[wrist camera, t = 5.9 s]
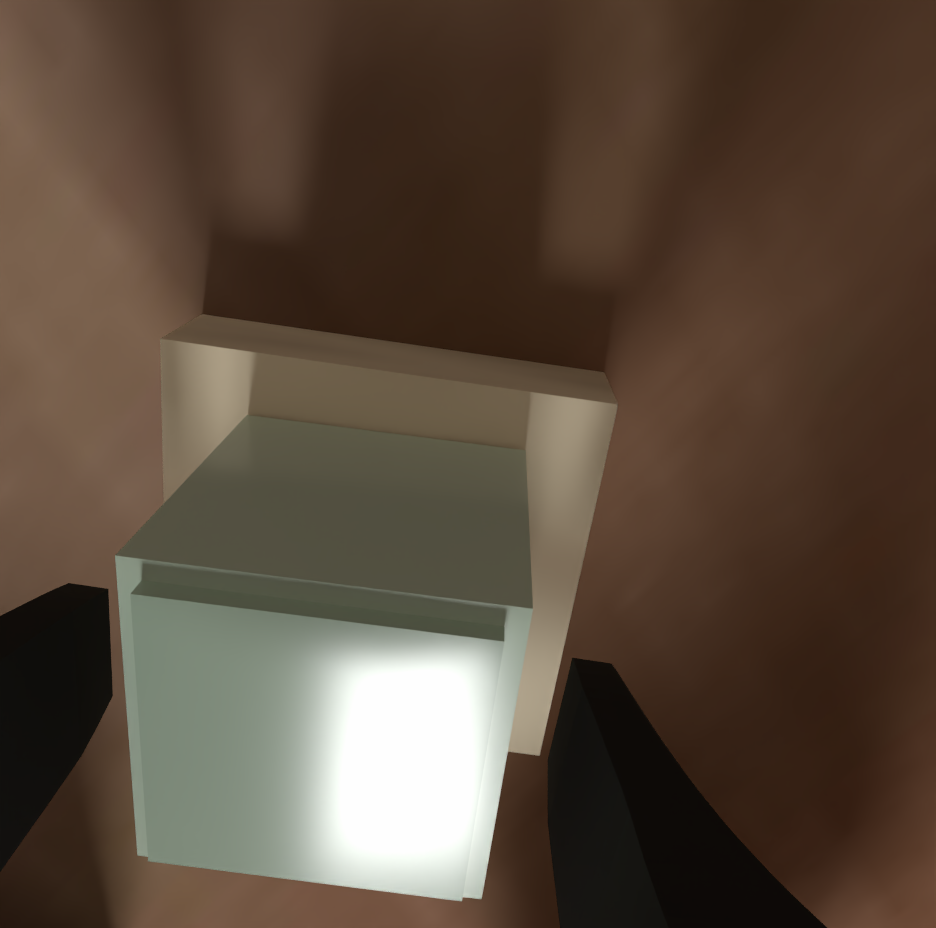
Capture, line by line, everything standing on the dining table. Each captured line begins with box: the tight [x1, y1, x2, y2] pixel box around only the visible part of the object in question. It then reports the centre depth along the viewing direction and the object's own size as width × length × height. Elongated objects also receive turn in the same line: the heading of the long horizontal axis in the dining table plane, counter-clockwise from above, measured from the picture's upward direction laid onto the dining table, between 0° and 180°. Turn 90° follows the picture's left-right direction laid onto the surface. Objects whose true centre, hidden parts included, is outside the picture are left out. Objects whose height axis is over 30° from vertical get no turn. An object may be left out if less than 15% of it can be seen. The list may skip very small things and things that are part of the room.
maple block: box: [160, 314, 618, 756], centre depth 16 cm, size 8×8×2 cm
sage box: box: [115, 415, 533, 901], centre depth 12 cm, size 5×5×5 cm
